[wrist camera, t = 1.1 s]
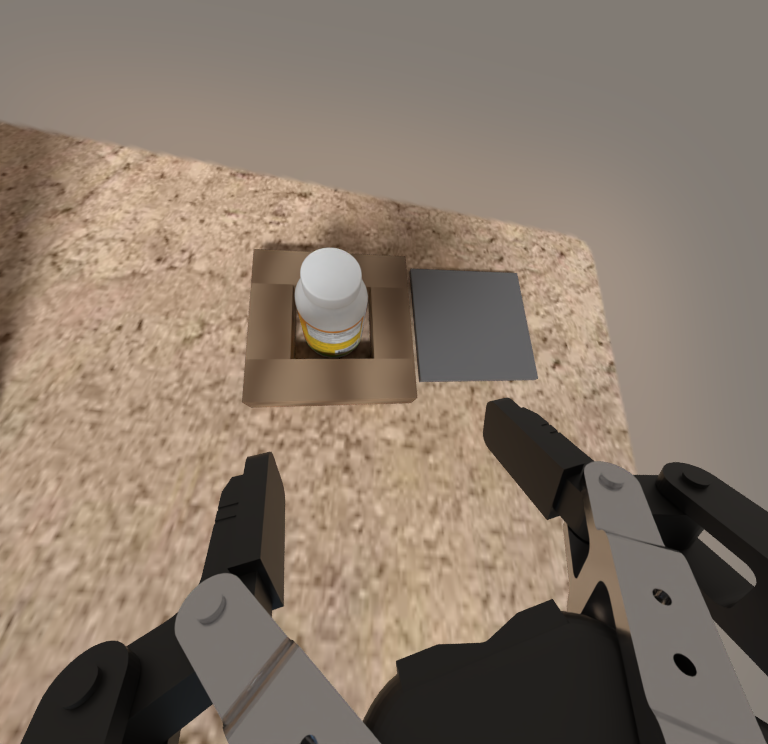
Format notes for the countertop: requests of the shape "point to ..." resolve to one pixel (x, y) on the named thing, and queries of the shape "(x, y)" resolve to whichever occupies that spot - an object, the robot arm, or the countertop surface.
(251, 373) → the walnut socket
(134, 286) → the countertop surface
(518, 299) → the rubber mat
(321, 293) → the supplement bottle
